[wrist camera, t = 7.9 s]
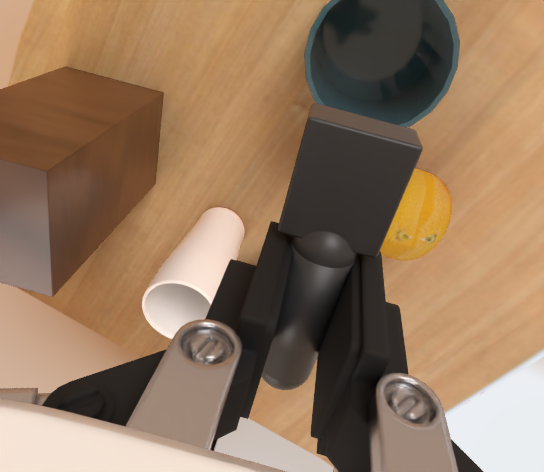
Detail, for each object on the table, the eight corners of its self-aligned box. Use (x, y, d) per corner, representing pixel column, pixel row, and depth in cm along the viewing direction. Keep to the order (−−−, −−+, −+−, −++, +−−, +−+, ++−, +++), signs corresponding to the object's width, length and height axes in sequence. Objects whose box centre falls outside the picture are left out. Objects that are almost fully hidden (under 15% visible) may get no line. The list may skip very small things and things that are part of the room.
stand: (64, 66, 45) (-112, 128, 28) (163, 92, 45) (47, 171, 28) (66, 160, 50) (-81, 260, 33) (155, 183, 50) (52, 297, 33)
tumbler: (333, -42, 37) (327, -44, 29) (459, -10, 37) (486, -3, 29) (301, 87, 43) (289, 114, 35) (411, 116, 42) (423, 149, 35)
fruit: (431, 237, 48) (444, 282, 41) (353, 229, 49) (353, 272, 42) (451, 157, 44) (469, 192, 37) (364, 150, 45) (367, 183, 38)
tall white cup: (182, 229, 52) (126, 315, 40) (212, 187, 49) (163, 265, 36) (231, 262, 54) (193, 355, 41) (264, 223, 50) (234, 311, 38)
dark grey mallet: (312, 101, 10) (306, 122, 9) (417, 129, 10) (427, 155, 9) (244, 349, 14) (234, 389, 13) (319, 369, 14) (316, 412, 13)
